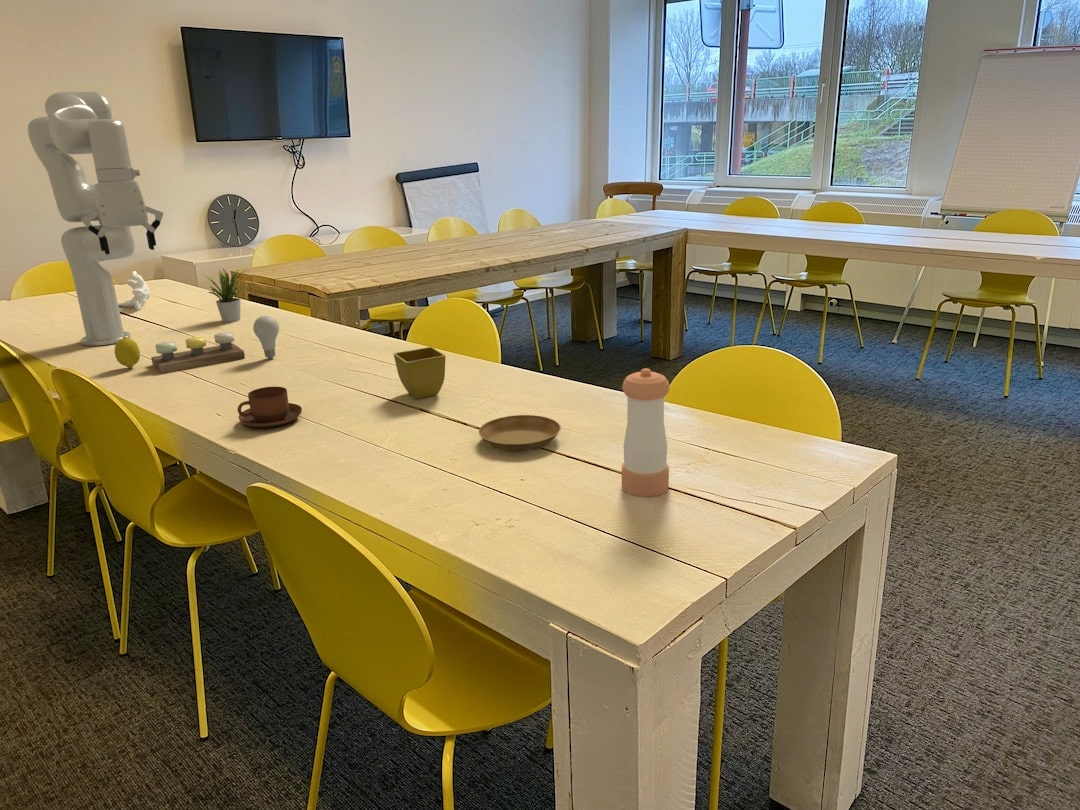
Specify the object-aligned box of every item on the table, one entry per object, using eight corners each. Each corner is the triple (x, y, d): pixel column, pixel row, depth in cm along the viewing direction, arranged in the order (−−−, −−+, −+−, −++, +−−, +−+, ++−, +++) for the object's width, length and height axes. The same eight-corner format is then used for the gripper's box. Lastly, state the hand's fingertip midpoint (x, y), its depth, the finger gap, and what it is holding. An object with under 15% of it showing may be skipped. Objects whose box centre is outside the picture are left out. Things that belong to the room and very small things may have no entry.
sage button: (156, 361, 204) (153, 343, 203) (176, 357, 207) (173, 340, 205) (160, 365, 201) (157, 347, 199) (180, 361, 203) (177, 344, 202)
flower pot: (409, 403, 171) (406, 362, 168) (396, 392, 178) (392, 352, 175) (449, 396, 174) (446, 355, 172) (434, 385, 182) (431, 346, 179)
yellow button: (186, 355, 208) (183, 339, 207) (205, 352, 211) (202, 335, 209) (190, 359, 205) (187, 342, 203) (210, 356, 207) (207, 339, 206)
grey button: (214, 350, 212) (212, 334, 210) (233, 347, 214) (230, 331, 213) (219, 354, 208) (216, 337, 207) (238, 351, 211) (235, 334, 209)
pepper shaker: (616, 493, 126) (615, 374, 120) (628, 475, 133) (628, 360, 127) (662, 499, 124) (664, 377, 118) (673, 480, 130) (675, 363, 124)
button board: (152, 364, 207) (151, 357, 206) (233, 350, 217) (232, 343, 217) (161, 373, 199) (159, 365, 198) (244, 358, 209) (243, 350, 209)
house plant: (269, 317, 254) (261, 264, 248) (232, 327, 243) (223, 272, 237) (239, 313, 261) (230, 262, 256) (201, 322, 250) (192, 269, 245)
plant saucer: (496, 463, 140) (495, 449, 139) (468, 436, 153) (467, 422, 152) (574, 448, 145) (574, 434, 144) (541, 422, 158) (540, 409, 157)
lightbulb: (288, 356, 210) (282, 314, 206) (271, 362, 204) (265, 319, 201) (269, 354, 212) (263, 312, 209) (252, 360, 207) (246, 317, 203)
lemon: (133, 371, 201) (126, 339, 199) (113, 371, 202) (106, 339, 200) (147, 365, 206) (141, 334, 204) (128, 364, 207) (121, 333, 205)
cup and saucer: (268, 436, 156) (263, 405, 154) (227, 426, 162) (222, 396, 160) (315, 417, 165) (311, 387, 163) (274, 408, 172) (270, 379, 170)
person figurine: (104, 275, 276) (133, 268, 266) (141, 277, 286) (170, 271, 276) (107, 314, 277) (136, 309, 266) (144, 314, 287) (173, 310, 277)
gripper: (152, 173, 196) (165, 245, 202) (71, 178, 187) (87, 253, 193) (158, 174, 190) (171, 249, 196) (74, 179, 181) (91, 257, 187)
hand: (129, 251), depth 194 cm, fingers open, 9 cm apart
